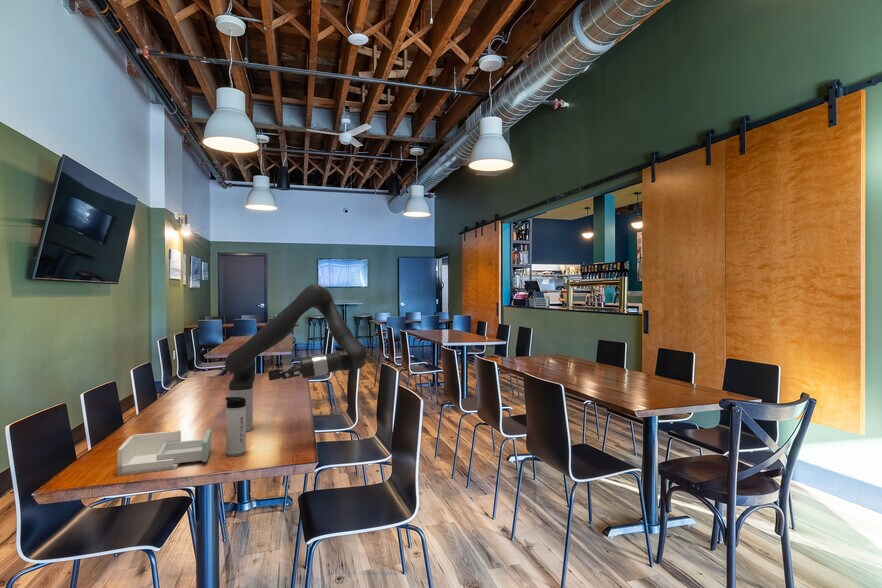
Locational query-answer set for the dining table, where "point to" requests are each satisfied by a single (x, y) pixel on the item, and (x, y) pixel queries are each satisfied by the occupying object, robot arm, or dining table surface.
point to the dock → (145, 453)
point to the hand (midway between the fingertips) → (268, 375)
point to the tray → (186, 450)
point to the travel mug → (235, 426)
